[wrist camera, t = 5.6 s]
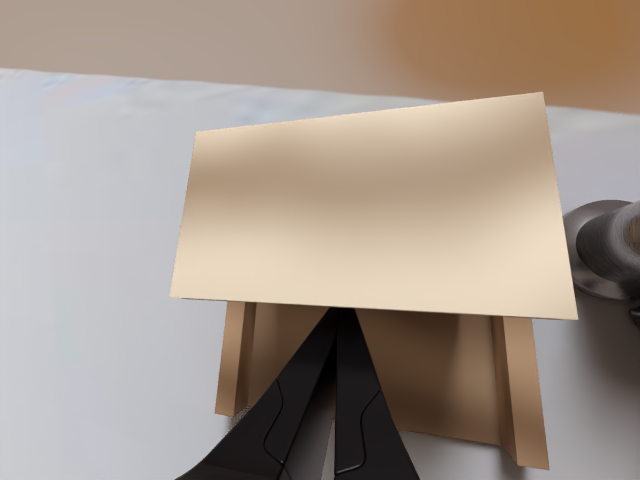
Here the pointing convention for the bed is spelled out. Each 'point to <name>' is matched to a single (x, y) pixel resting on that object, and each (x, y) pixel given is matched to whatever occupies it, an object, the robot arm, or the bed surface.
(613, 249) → the flanged metal cylinder
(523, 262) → the pale wooden box
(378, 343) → the bay
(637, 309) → the small box
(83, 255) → the bed surface
